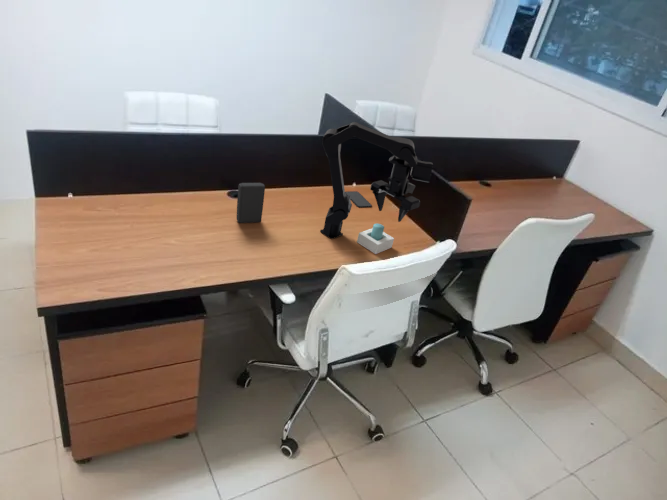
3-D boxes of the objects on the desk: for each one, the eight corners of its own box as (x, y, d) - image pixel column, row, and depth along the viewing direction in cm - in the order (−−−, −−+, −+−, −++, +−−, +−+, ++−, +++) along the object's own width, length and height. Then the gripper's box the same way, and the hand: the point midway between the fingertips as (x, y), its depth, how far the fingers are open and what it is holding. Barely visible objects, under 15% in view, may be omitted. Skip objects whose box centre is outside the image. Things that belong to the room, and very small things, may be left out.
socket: (375, 254, 173) (377, 244, 171) (356, 242, 178) (358, 232, 176) (391, 247, 179) (394, 238, 177) (373, 235, 184) (375, 226, 182)
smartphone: (357, 191, 217) (373, 205, 206) (357, 192, 218) (372, 207, 206) (343, 191, 214) (358, 206, 203) (343, 193, 215) (357, 208, 203)
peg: (374, 248, 176) (379, 229, 172) (366, 243, 178) (371, 225, 174) (381, 245, 179) (386, 227, 175) (373, 240, 181) (378, 222, 177)
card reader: (259, 217, 181) (263, 181, 173) (262, 223, 178) (266, 186, 170) (235, 218, 177) (238, 181, 170) (237, 224, 174) (240, 186, 167)
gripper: (434, 182, 165) (423, 222, 173) (393, 162, 176) (384, 201, 184) (415, 188, 158) (404, 229, 166) (373, 167, 168) (365, 207, 176)
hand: (389, 216), depth 173 cm, fingers open, 9 cm apart
